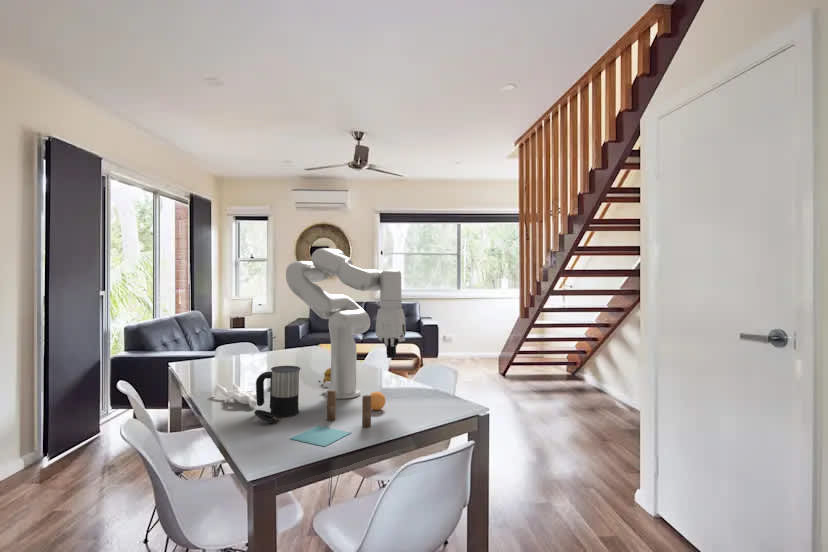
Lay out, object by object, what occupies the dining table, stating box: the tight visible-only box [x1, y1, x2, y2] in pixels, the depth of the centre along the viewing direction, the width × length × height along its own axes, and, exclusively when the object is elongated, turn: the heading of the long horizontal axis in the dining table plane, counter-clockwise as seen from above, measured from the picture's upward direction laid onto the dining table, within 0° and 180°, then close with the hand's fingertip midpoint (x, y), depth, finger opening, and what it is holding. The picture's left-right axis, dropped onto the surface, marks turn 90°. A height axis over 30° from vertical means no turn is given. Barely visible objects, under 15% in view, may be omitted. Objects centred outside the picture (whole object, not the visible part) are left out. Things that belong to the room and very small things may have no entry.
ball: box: [369, 391, 387, 411], centre depth 155 cm, size 6×6×6 cm
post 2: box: [361, 394, 372, 429], centre depth 137 cm, size 3×3×9 cm
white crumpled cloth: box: [213, 383, 257, 408], centre depth 163 cm, size 12×6×25 cm
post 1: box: [326, 390, 337, 422], centre depth 144 cm, size 3×3×9 cm
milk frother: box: [253, 365, 301, 424], centre depth 146 cm, size 14×16×15 cm
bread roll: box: [322, 367, 331, 384], centre depth 192 cm, size 13×10×8 cm
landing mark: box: [289, 425, 352, 448], centre depth 129 cm, size 12×12×1 cm
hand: (391, 357), depth 162 cm, fingers closed
